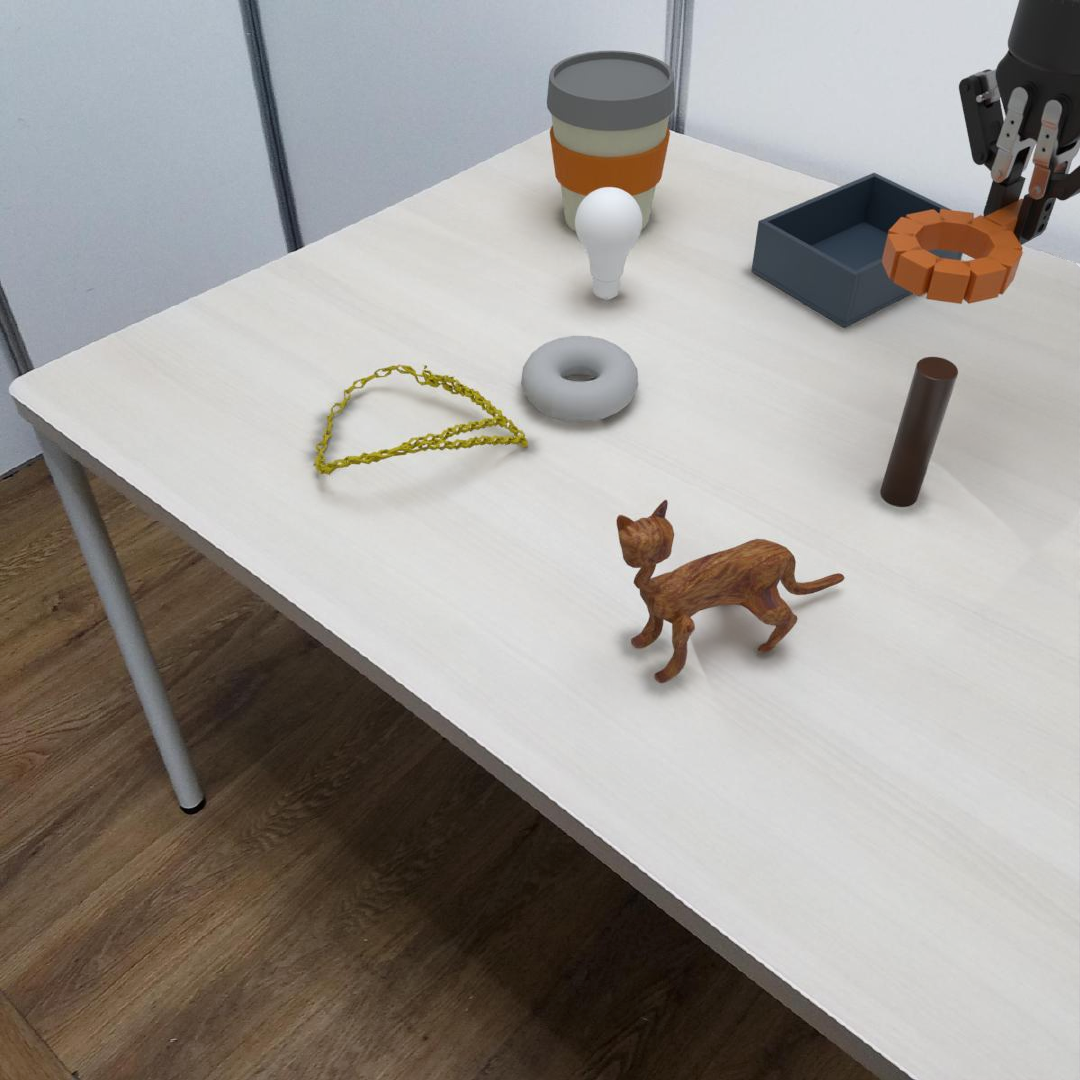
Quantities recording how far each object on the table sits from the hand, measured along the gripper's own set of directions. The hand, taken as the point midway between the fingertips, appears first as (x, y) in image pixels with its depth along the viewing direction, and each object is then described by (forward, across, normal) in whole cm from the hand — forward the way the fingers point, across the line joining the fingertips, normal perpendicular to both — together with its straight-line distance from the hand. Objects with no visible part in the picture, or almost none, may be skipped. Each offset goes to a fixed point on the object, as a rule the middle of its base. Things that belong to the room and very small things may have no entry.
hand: (1009, 233), depth 77 cm
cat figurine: (+17, -6, +31) cm, 36 cm away
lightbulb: (+17, +31, +12) cm, 37 cm away
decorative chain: (+17, +24, +37) cm, 47 cm away
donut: (+17, +21, +23) cm, 35 cm away
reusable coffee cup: (+17, +43, +2) cm, 47 cm away
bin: (+17, +20, -11) cm, 28 cm away
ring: (0, 0, +5) cm, 5 cm away
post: (+17, -4, +11) cm, 20 cm away
